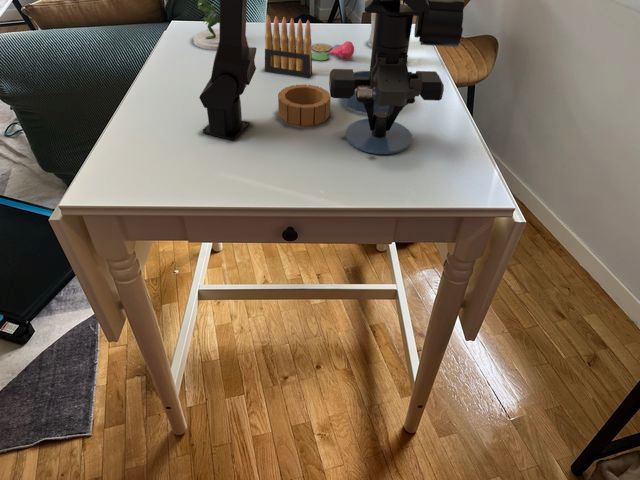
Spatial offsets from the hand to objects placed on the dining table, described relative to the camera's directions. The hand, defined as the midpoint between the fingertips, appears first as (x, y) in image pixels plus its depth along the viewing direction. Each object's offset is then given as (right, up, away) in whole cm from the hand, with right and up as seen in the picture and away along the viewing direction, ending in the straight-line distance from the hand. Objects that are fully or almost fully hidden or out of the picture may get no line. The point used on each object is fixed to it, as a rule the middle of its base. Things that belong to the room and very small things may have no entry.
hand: (379, 129), depth 87 cm
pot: (-1, +9, +13) cm, 15 cm away
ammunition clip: (-18, +18, +22) cm, 34 cm away
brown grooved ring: (-14, +4, +8) cm, 16 cm away
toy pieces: (-8, +26, +32) cm, 41 cm away
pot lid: (0, -1, +1) cm, 1 cm away
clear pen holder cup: (+5, +30, +37) cm, 48 cm away
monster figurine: (-37, +30, +35) cm, 59 cm away
